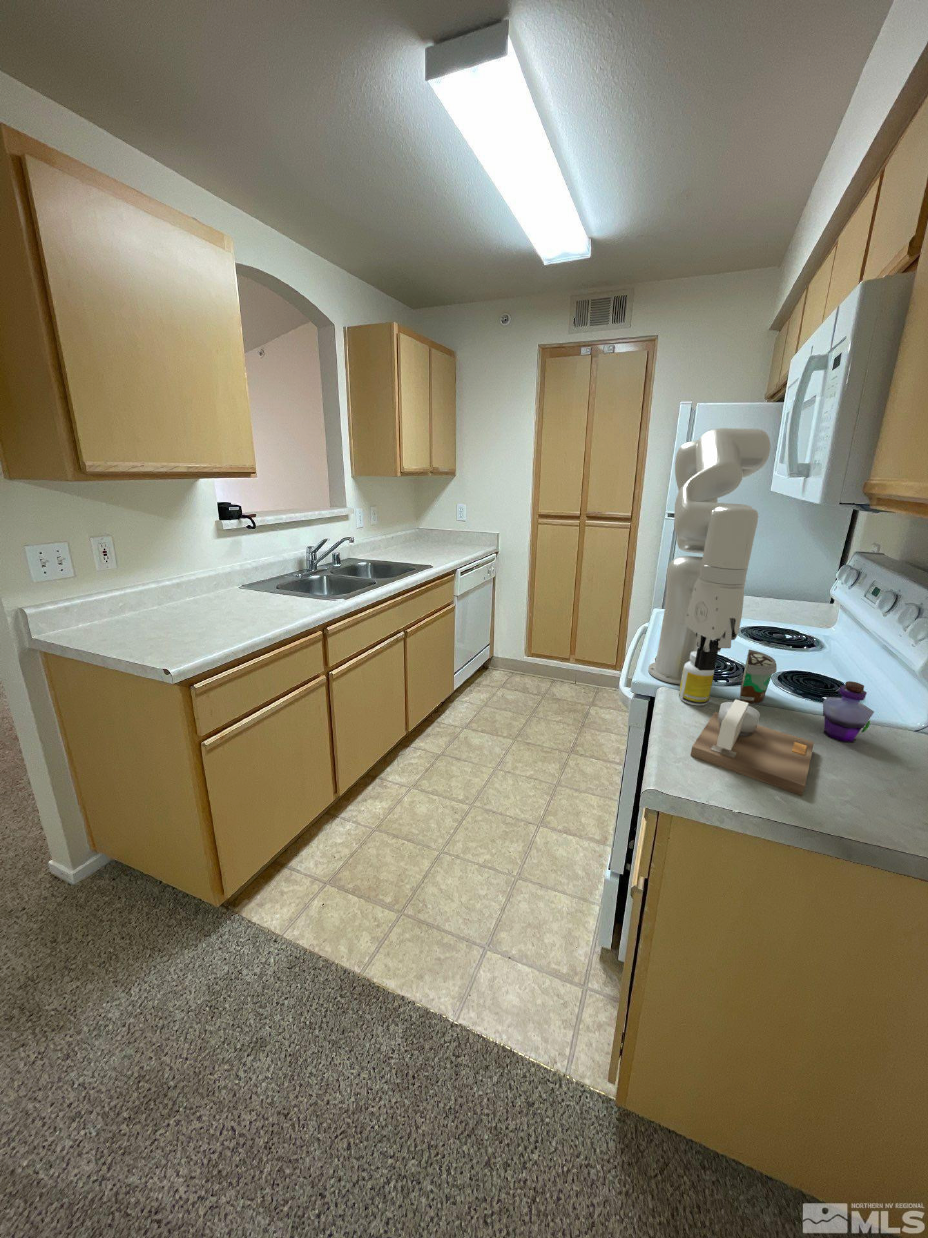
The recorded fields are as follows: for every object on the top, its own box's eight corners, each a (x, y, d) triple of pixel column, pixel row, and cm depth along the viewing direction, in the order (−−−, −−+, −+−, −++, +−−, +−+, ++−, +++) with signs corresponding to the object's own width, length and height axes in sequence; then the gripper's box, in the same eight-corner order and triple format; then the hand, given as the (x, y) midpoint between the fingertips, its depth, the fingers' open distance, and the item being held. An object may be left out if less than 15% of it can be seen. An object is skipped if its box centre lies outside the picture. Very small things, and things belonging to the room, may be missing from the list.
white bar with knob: (721, 711, 104) (726, 690, 102) (759, 722, 100) (764, 700, 98) (703, 741, 92) (708, 717, 90) (744, 755, 88) (750, 731, 86)
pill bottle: (711, 708, 112) (721, 661, 108) (681, 705, 113) (690, 658, 109) (703, 695, 118) (712, 651, 114) (675, 692, 119) (683, 648, 115)
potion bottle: (870, 751, 97) (888, 697, 93) (818, 740, 100) (833, 687, 96) (859, 731, 104) (875, 680, 100) (811, 721, 107) (825, 671, 104)
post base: (713, 720, 107) (715, 707, 106) (811, 751, 96) (815, 737, 95) (690, 755, 93) (693, 741, 92) (802, 796, 83) (806, 781, 82)
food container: (769, 711, 111) (779, 671, 108) (738, 704, 114) (748, 665, 111) (768, 691, 122) (777, 654, 119) (740, 685, 125) (749, 648, 121)
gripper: (681, 567, 96) (666, 655, 101) (728, 584, 81) (708, 685, 87) (716, 568, 97) (700, 654, 102) (770, 585, 82) (747, 684, 88)
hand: (704, 668), depth 94 cm, fingers closed
